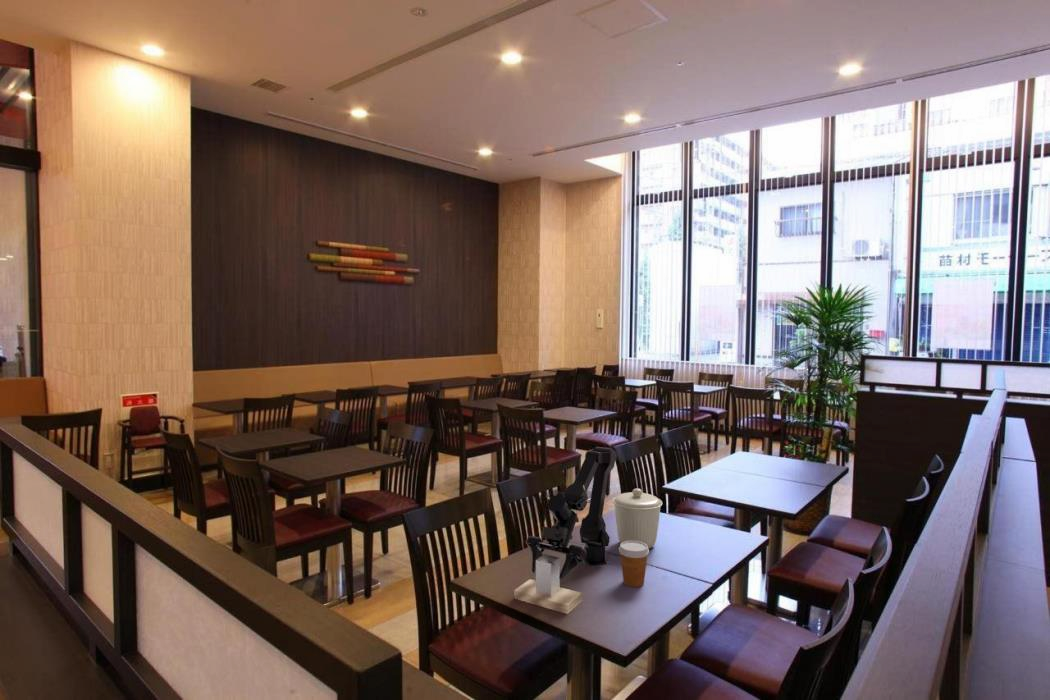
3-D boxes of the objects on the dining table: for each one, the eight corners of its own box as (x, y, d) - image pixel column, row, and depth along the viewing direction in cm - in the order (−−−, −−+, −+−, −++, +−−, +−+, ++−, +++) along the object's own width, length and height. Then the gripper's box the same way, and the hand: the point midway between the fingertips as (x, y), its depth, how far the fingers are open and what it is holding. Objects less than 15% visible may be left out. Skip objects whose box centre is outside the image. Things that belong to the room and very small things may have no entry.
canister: (671, 544, 220) (672, 488, 219) (644, 558, 207) (644, 499, 206) (630, 532, 233) (630, 479, 232) (602, 545, 220) (602, 488, 219)
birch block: (514, 598, 179) (514, 580, 178) (529, 587, 186) (529, 569, 186) (567, 614, 169) (567, 595, 169) (581, 601, 177) (581, 583, 176)
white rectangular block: (544, 586, 181) (544, 554, 181) (559, 590, 178) (559, 557, 178) (535, 593, 177) (535, 560, 176) (551, 597, 174) (551, 563, 173)
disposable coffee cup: (612, 579, 191) (612, 542, 191) (637, 574, 195) (638, 538, 194) (629, 591, 183) (629, 553, 182) (655, 586, 186) (655, 548, 186)
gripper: (528, 510, 185) (509, 556, 176) (582, 520, 175) (565, 570, 166) (541, 527, 192) (523, 573, 183) (594, 538, 182) (577, 587, 174)
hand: (546, 575), depth 177 cm, fingers open, 9 cm apart
